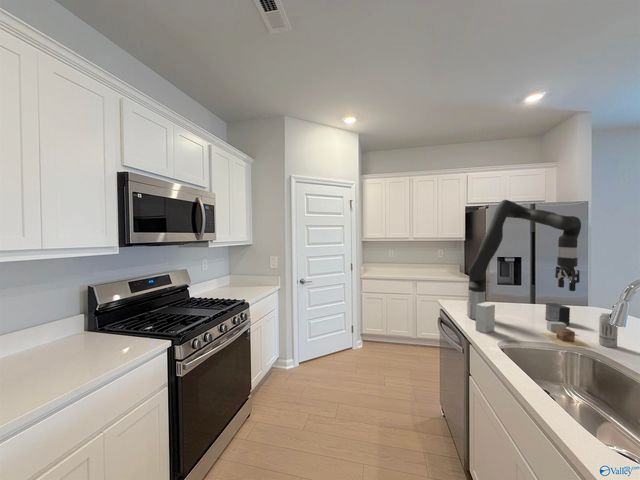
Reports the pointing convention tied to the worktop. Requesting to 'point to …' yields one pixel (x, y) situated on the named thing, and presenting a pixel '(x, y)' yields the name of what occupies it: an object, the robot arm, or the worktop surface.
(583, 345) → the letter
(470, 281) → the robot arm
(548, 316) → the small box
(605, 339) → the energy drink can
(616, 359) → the worktop surface
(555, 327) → the grey block
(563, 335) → the walnut cube
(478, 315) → the skincare box
